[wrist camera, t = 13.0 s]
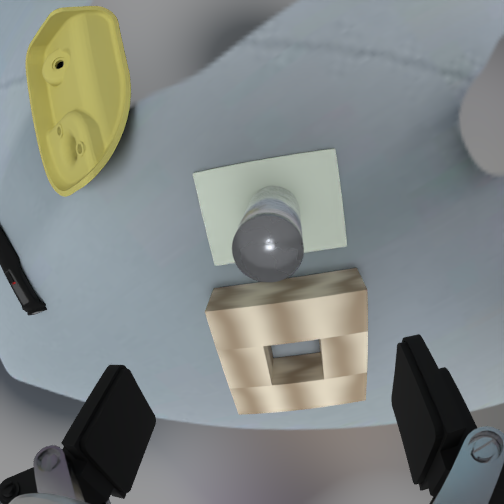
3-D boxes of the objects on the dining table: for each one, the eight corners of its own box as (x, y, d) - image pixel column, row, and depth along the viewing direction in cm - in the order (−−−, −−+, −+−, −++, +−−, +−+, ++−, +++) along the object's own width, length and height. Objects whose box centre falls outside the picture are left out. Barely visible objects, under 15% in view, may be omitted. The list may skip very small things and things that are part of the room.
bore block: (356, 267, 34) (367, 289, 29) (359, 373, 40) (365, 400, 35) (213, 288, 36) (204, 311, 32) (242, 387, 42) (238, 414, 37)
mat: (333, 148, 30) (335, 148, 29) (345, 243, 33) (347, 246, 32) (194, 172, 32) (192, 173, 31) (216, 262, 35) (214, 265, 34)
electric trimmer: (3, 215, 36) (-11, 221, 33) (50, 307, 41) (38, 318, 38) (-8, 224, 37) (-21, 231, 34) (37, 312, 41) (25, 323, 39)
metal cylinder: (293, 180, 30) (296, 209, 21) (303, 229, 32) (309, 276, 23) (243, 191, 31) (223, 224, 22) (255, 238, 33) (241, 287, 24)
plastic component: (24, 53, 25) (58, 1, 19) (73, 49, 31) (115, 6, 25) (53, 204, 30) (92, 182, 25) (104, 186, 36) (153, 164, 30)
